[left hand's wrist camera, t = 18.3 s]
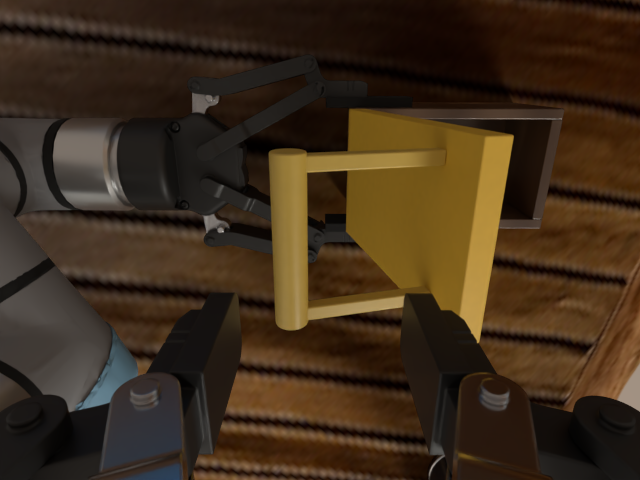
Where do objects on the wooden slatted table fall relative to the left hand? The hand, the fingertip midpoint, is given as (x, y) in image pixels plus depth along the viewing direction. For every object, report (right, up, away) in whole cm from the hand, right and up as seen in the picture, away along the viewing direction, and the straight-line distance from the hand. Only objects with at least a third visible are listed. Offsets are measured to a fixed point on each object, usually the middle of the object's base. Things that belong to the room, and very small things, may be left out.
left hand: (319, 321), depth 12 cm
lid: (+5, +5, +12) cm, 14 cm away
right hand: (+7, +9, +22) cm, 25 cm away
